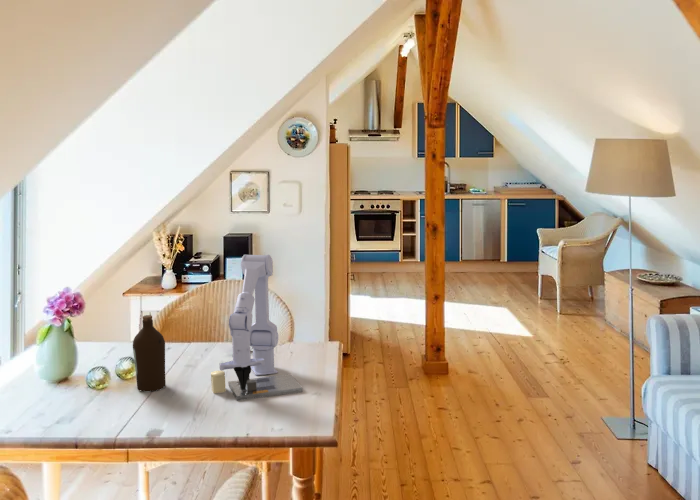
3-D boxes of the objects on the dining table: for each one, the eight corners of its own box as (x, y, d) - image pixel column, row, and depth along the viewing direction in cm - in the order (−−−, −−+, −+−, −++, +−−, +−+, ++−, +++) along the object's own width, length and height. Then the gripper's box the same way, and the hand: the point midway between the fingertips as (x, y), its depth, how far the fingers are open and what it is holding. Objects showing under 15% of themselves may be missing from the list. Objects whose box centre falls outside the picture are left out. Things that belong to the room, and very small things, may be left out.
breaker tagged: (245, 388, 250) (245, 380, 250) (254, 387, 251) (254, 379, 250) (247, 391, 248) (247, 383, 247) (256, 390, 249) (256, 382, 248)
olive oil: (170, 381, 263) (166, 312, 259) (163, 392, 253) (159, 319, 249) (139, 382, 263) (135, 312, 259) (131, 393, 252) (127, 320, 248)
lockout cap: (210, 389, 255) (209, 371, 254) (224, 387, 256) (223, 370, 255) (212, 393, 251) (212, 375, 250) (226, 392, 252) (225, 374, 251)
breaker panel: (228, 385, 258) (228, 381, 258) (290, 378, 265) (290, 373, 265) (237, 400, 244) (236, 395, 244) (302, 391, 251) (302, 387, 251)
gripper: (221, 354, 240) (223, 395, 242) (265, 349, 245) (267, 389, 247) (217, 348, 247) (219, 388, 249) (261, 343, 251) (262, 382, 253)
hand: (242, 388), depth 248 cm, fingers closed
